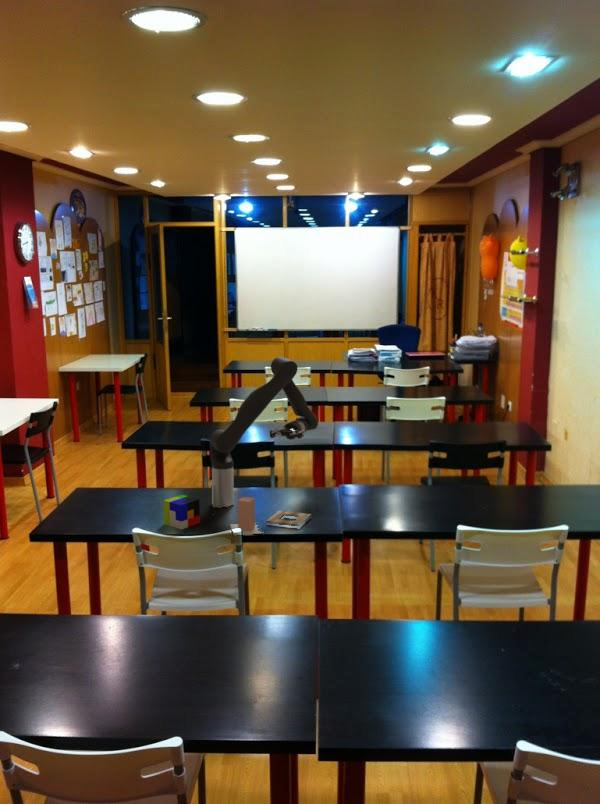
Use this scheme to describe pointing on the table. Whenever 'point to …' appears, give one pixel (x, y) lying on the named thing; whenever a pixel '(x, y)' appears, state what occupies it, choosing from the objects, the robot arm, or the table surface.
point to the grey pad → (253, 531)
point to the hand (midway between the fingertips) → (280, 436)
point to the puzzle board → (277, 520)
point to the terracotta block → (246, 513)
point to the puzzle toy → (181, 511)
